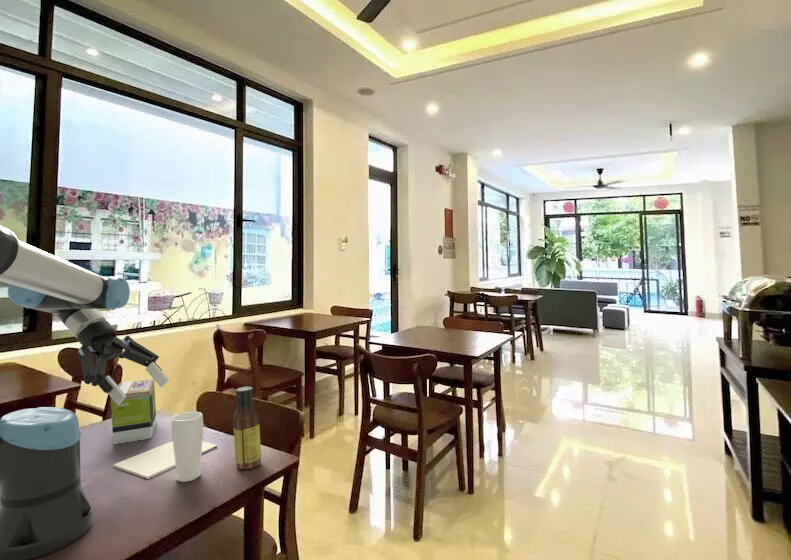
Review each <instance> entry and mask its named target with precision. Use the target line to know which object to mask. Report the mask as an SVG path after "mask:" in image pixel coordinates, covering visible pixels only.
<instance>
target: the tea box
mask: <svg viewBox="0 0 791 560" xmlns="http://www.w3.org/2000/svg"><path fill="white" fill-rule="evenodd" d="M117 385H118V387H119V388H120V389H121V390H122V391H123V392H124V394H125V395H126V397H125V399H124V400H123V401H122V402H121V403H120V404H118V405H117V404H116V403H115V402H114V401H113V399H112V398H111V397H110V402H111V403H110V405H111V424H112V425H111V426H112V427H111V429H112V445H114V444H115V445H120V444H119V443H121V444H127V443H126V442H128V443H133V442H132V441H134V442H139V441H138V440H140V441H145V439H146V440H150V439H152V438H153V434H154V431H155V428H156V424H157V410H156V409H157V407H156V388H155V385H156V383H155V380H154V379H153V378H150V379H143V380H133V381H123V382H120V383H119V384H117Z"/></svg>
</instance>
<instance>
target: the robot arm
mask: <svg viewBox="0 0 791 560" xmlns="http://www.w3.org/2000/svg"><path fill="white" fill-rule="evenodd" d="M0 282H1V283H6V284H8V287H7V295H8V298H9V300H10V301H11V302H12V303H14V305H15V304H16V305H17V306H20V307H23V308H25V309H31V310H35V311H40V312H44V313H45V312H46V313H49V314H53V315H55V316H56V317H57V318H59V320H60V321H61V322H62V323H63V325H64V326H65V327H66V328H67V329H68V330H69V331H70V333H71V334H72V335H73V336H74V337H75V338H76V340H77V342H79V344H80V345H81V347H80V348H79V349H78V350H77V351H76V354H77V356H78V358H79V360H80V365H81V370H82V375H83V376H82V377H83V383H84V384H86V385H90V384H91V386H93V387H97V386H98V387H99V388H100V389H101V390H102V392H103V393H105V394H107V395H109V397H110V399H111V398H112V399H113V401H114V402H115V403H116V404H117V405H118V404H120V403H121V402H122V401H123V400H124V399H125V397H126V395H125V394H124V392H123V391H122V390H121V389H120V388H119V387H118V385H119V384H117V383H116V382H115V380H114V379H113V378H112V377H111V375H107V376H106V370H107V361H109V360H111V359H126V360H129V361H131V362H134V363H136V364H138V365H141V366H143V367H146V368H145V371H146V372H147V373H148V374H149V376H151V379H154V382H156V383H157V384H158V386H159V387H160V388H163V387H164V386H166V384H167V383H168V382H169V381H170V378H168V377H167V375H165V374H166V373H164V372H163V370H162V369H161V367H160V366H159V365H158V364H157V363H156V362H157V360H159V358H160V356H159V355H157V354H156V353H155V352H153V351H151V350H149V349H148V348H146V347H144V346H143V345H141V343H140V344H139V342H137V341H135V340H134V339H133V338H132V337H131V336H130V335H126V336H124V338H122V339H121V338H118V336H117V332H116V330H115V328H114V327H113V326H112V325H111V324H110V322H109V321H108V320H107V319H106V317H105V316H104V314H102V313H101V312H100V311H99V309H101V310H104V309H106V310H111V309H121V308H123V307H125V306H126V305H127V304H128V302H129V298H130V292H131V291H130V290H131V289H130V285H129V283H128V281H127V280H126V279H125V278H124V277H121V276H113V275H110V276H102V275H100V274H97V273H94V272H93V271H91V270H88V269H85V268H83V267H81V266H79V265H77V264H74V263H72V262H70V261H68V260H66V259H62V258H61V257H58V256H55V255H54V254H52V253H48V252H47V251H44V250H42V249H41V248H37V247H36V246H33V245H30V244H28V243H26V242H24V241H21V240H19V239H18V236H17V235H16V234H15V233H14V232H13V231H12V230H11V229H9V228H7V227H5V226H3V225H1V224H0ZM123 350H124V351H123ZM93 356H95V360H94V358H93ZM94 361H95V362H94ZM81 436H82V433H81V429H80V423H79V418H78V415H76V413H74V411H72V410H70V409H67V408H62V407H54V406H38V407H36V408H28V407H27V408H23V409H18V410H14V411H12V412H9V413H6V414H5V415H3V416H2V417H0V560H27V559H29V560H32V558H33V559H36V558H39V556H40V557H42V556H45V555H48V554H51V553H54V552H55V551H58V550H60V549H63V548H64V547H66V546H68V545H70V544H71V543H73V542H75V541H76V540H78V539H79V538H80V537H82V536H83V535H84V534H85V533H87V532H88V531H89V529H90V528H91V526H92V525H93V522H94V514H93V507H92V505H91V502H90V501H89V499H88V497H87V495H86V492H85V491H84V488H83V486H82V483H81V482H82V481H81V479H82V477H81V438H82V437H81Z"/></svg>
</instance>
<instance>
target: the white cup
mask: <svg viewBox="0 0 791 560" xmlns="http://www.w3.org/2000/svg"><path fill="white" fill-rule="evenodd" d="M203 416H204V415H203V413H202V412H200V411H186V412H185V411H183V412H180V413H178V414H174V416H172V417H171V441H173V449H174V458H175V467H174V468H175V477H176V480H177V481H178V482H181V483H188V482H191V481H195V480H196V479H198V478H199V477H200V475H201V473H202V469H201V468H202V467H201V465H202V454H201V453H202V441H203V439H204V438H203V437H204V418H203Z"/></svg>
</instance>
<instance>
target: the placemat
mask: <svg viewBox="0 0 791 560" xmlns="http://www.w3.org/2000/svg"><path fill="white" fill-rule="evenodd" d="M216 446H217V447H218V445H217V444H214V443H211V442H208V441H205V440H204V441H203V440H202V453H204V452H206V451H208V450H210V449H212V448H214V447H216ZM214 449H215V448H214ZM212 450H213V449H212ZM210 451H211V450H210ZM208 452H209V451H208ZM202 453H201V455H203V454H202ZM206 453H207V452H206ZM204 454H205V453H204ZM112 466H113V468H116V469H118V470H121V471H124V472H127V473H130V474H132V475H135V476H138V477H140V478H142V479H145V478H146V480H149V479H152V478H154V477H156V476H158V475H160V474H163V473H165V472H166V471H169V470H171V469H173V468H176V467H175V458H174V449H173V441H172V440H171V441H168V442H167V443H163V444H162V445H158V446H157V447H154V448H152V449H149V450H146V451H145V452H141V453H139V454H136V455H134V456H131V457H129V458H127V459H124V460H122V461H119V462H116V463H114V464H113V465H112ZM151 477H152V478H151Z"/></svg>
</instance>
